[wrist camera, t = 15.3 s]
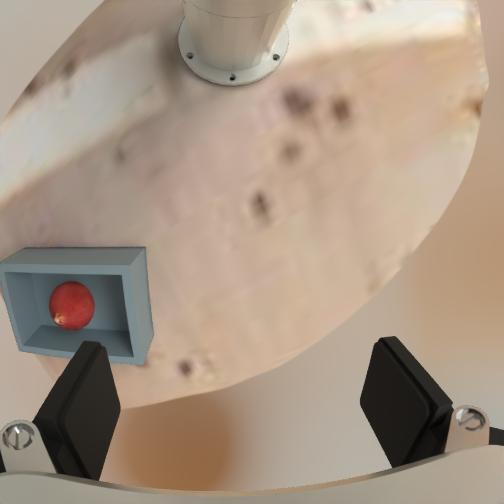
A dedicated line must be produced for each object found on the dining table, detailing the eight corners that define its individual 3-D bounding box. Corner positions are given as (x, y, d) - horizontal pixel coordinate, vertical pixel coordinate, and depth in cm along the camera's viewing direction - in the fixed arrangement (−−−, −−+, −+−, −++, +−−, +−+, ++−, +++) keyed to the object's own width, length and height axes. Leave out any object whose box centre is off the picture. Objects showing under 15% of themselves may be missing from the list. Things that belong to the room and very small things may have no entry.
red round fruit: (107, 313, 38) (85, 346, 30) (69, 313, 38) (44, 344, 30) (98, 271, 36) (72, 297, 29) (60, 273, 36) (30, 298, 28)
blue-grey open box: (25, 247, 36) (-3, 263, 29) (145, 246, 37) (129, 265, 31) (41, 326, 39) (19, 351, 32) (154, 334, 41) (143, 365, 34)
